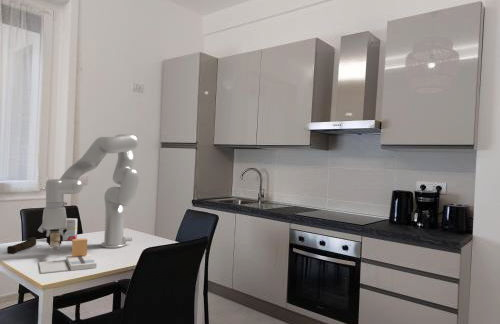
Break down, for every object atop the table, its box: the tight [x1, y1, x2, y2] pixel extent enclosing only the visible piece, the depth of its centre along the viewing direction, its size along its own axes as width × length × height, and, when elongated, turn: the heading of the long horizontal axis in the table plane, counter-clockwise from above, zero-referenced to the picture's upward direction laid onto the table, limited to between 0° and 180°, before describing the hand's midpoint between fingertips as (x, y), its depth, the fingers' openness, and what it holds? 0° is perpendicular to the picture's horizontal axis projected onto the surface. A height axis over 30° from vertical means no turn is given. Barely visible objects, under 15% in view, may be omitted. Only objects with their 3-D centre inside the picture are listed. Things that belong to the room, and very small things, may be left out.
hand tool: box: [6, 236, 37, 255], centre depth 188 cm, size 19×4×5 cm, turn 174°
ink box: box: [58, 217, 78, 242], centre depth 211 cm, size 9×5×12 cm, turn 101°
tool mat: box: [38, 259, 69, 275], centre depth 161 cm, size 10×16×1 cm, turn 32°
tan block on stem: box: [49, 230, 61, 252], centre depth 176 cm, size 4×14×6 cm, turn 32°
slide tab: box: [71, 238, 88, 256], centre depth 173 cm, size 6×3×7 cm, turn 122°
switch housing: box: [65, 252, 97, 271], centre depth 168 cm, size 10×18×2 cm, turn 32°
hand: (54, 243), depth 179 cm, fingers closed on tan block on stem, 4 cm apart
